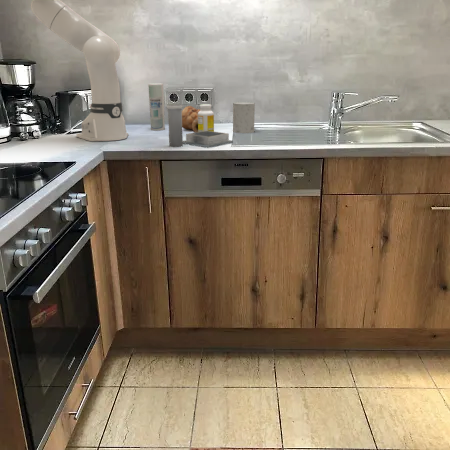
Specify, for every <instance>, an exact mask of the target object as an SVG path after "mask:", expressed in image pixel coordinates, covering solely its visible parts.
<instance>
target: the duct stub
mask: <svg viewBox="0 0 450 450" xmlns="http://www.w3.org/2000/svg"><path fill="white" fill-rule="evenodd" d="M166 108H167V113H168V114H167V115H168V116H167V118H168V119H167V120H168V121H167V122H168V138H169V139H168V140H169V143H168V144H169V147H171V148H181V146H182V147H183V146H184V144H183V141H184V140H183V127H182V110H183V105H182V104H179V103H178V104H177V103H175V104H167V106H166Z"/></svg>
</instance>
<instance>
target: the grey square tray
mask: <svg viewBox="0 0 450 450" xmlns="http://www.w3.org/2000/svg"><path fill="white" fill-rule="evenodd" d="M185 136H186V137H185V139H186V140H183V145H188V144H189V146H194V145H195V146H196V147H200V146H201V148H206V147H207V148H206V149H210V148H215V147H219V146H223V145H224V146H225V145H229V144H233V143H234V141H233V140H230V137H229V136H230V133H228V132H227V133H226V132H219V131H215V130H214V131H201V132H192V133H191V132H190V133H186V135H185ZM195 146H194V147H195Z"/></svg>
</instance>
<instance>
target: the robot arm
mask: <svg viewBox="0 0 450 450" xmlns="http://www.w3.org/2000/svg"><path fill="white" fill-rule="evenodd" d="M30 10H31V13H33V15H34V16H35V17H36V18H37V19H38V20H39V21H40V22H41V23H42V24H43V25H44V26H45V27H47V28H48V29H49V30H50V31H52V32H53V33H54V34H56V36H58V37H59V38H61V39H62V40H63V41H65V42H66V43H67V44H69V45H71V47H73V48H75V49H77V50H78V51H80V52H81V53H83V57H84V58H85V64H86V68H87V69H86V70H87V73H88V78H89V82H90V90H91V101H92V102H91V103H90V106H88V108H90V109H89V111H90V113H88V115H87V117H85V119H83V120H82V121H81V132H80V133H76V136H75V137H76V138H80V139H82V140H86V141H89V142H98V141H100V142H102V141H103V142H108V141H109V142H110V141H119V140H124V139H127V138H128V137H129V133H128V132H127V128H126V120H125V117H124V115H123V113H122V112H123V103H122V102H121V88H120V80H119V77H118V72H117V71H118V70H117V66H116V63H117V62H118V60H119V59H120V56H121V50H120V46H119V44H118V43H117V42H116V40H114V39H113V38H112V37H111V36H109V35H108V34H107V33H106V32H104V31H102V30H101V29H100V28H98V27H96V26H95V25H94V24H92V23H91V22H89V21H88V20H86V19H85V18H84V16H83V17H82V16H81V15H80V14H79V13H78V12H76V11H75V10H73V9H72V8H71V7H70V6H68V4H66V3H64V2H63V1H62V0H31V3H30Z"/></svg>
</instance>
